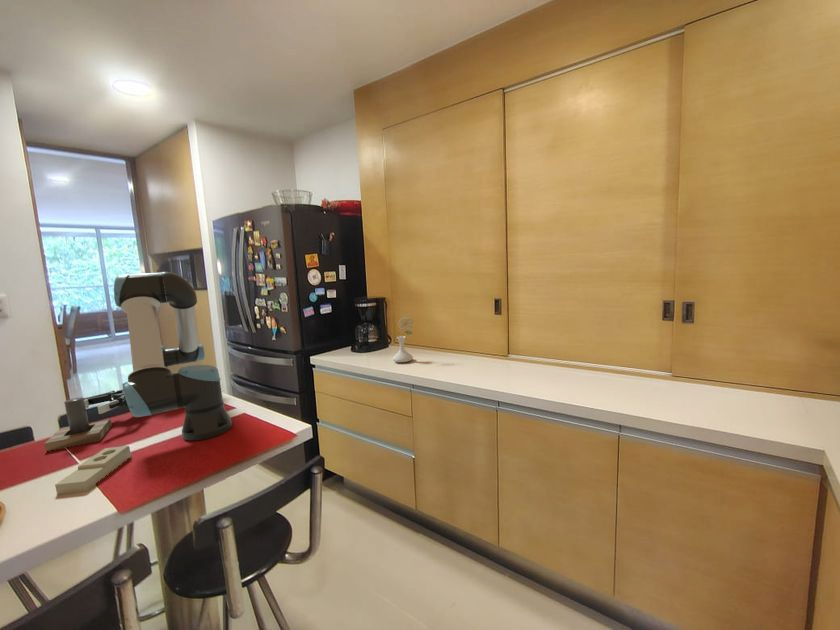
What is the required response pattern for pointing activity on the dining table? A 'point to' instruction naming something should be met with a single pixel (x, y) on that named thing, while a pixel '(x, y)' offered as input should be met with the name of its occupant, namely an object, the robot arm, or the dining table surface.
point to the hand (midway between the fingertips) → (83, 410)
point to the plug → (77, 415)
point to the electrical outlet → (93, 470)
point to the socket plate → (78, 435)
